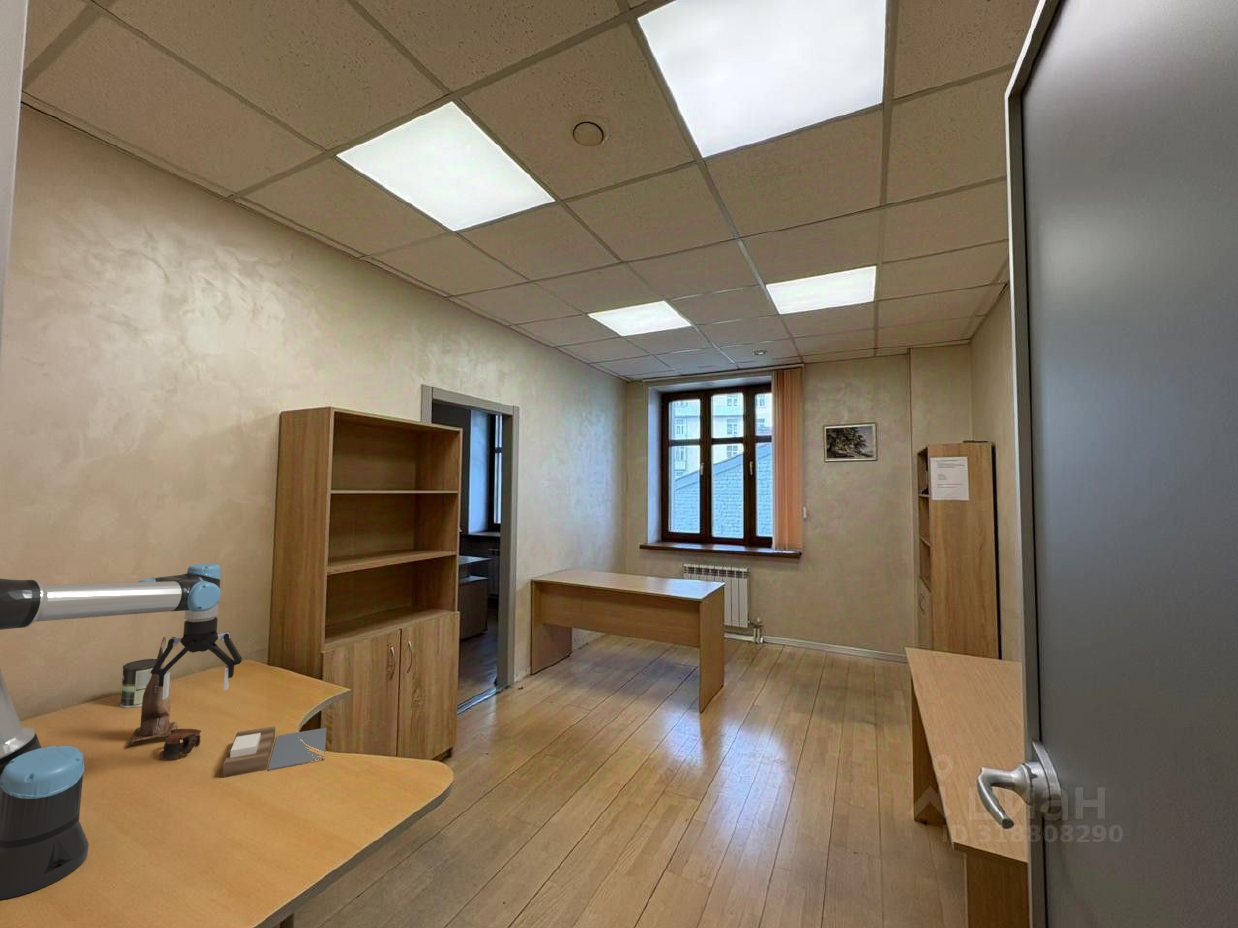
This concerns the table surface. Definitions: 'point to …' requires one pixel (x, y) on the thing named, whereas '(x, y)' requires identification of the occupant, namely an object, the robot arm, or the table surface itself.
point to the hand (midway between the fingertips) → (196, 693)
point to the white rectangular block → (245, 745)
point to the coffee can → (135, 682)
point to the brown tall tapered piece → (155, 708)
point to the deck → (253, 760)
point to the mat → (297, 748)
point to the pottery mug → (174, 745)
